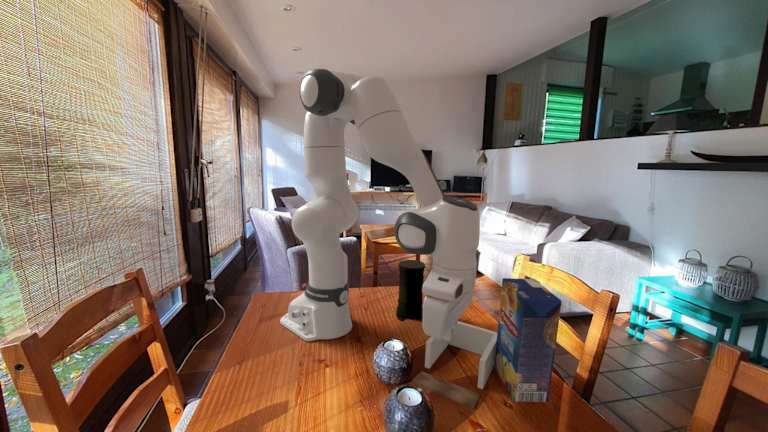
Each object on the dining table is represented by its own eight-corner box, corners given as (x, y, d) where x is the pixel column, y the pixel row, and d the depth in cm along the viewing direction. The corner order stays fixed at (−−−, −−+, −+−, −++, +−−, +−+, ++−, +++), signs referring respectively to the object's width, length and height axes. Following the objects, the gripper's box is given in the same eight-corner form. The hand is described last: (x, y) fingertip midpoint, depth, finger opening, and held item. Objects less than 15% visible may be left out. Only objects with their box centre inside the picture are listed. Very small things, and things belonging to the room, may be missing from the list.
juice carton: (547, 407, 70) (561, 301, 66) (512, 407, 70) (524, 300, 66) (523, 371, 82) (534, 278, 78) (493, 370, 82) (502, 278, 78)
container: (408, 307, 115) (410, 257, 111) (429, 317, 108) (432, 264, 105) (389, 315, 108) (391, 262, 105) (410, 326, 102) (413, 270, 99)
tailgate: (424, 372, 81) (411, 384, 75) (424, 368, 81) (412, 379, 75) (482, 394, 73) (473, 410, 68) (482, 390, 73) (473, 405, 68)
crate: (424, 371, 81) (426, 341, 79) (445, 344, 93) (447, 318, 91) (482, 394, 74) (485, 361, 72) (497, 362, 85) (500, 333, 84)
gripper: (456, 260, 79) (451, 314, 82) (418, 288, 62) (414, 355, 65) (482, 266, 76) (477, 322, 79) (450, 296, 59) (444, 367, 61)
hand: (448, 337), depth 72 cm, fingers closed
